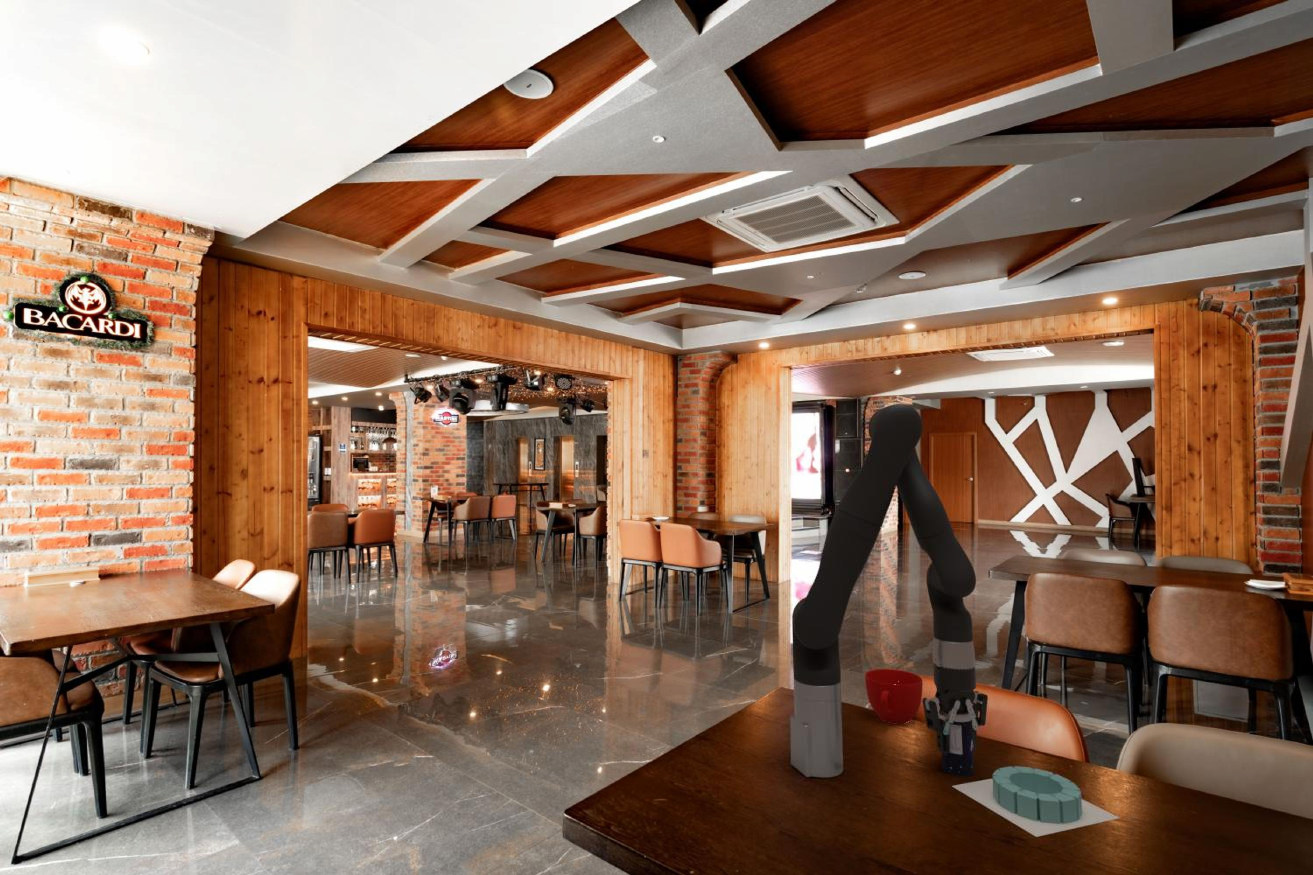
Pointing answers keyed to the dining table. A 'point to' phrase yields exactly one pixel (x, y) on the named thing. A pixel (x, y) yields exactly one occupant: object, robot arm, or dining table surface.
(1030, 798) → the ring
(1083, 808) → the mat
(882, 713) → the ceramic cup
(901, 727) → the dining table surface
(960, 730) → the beverage can
